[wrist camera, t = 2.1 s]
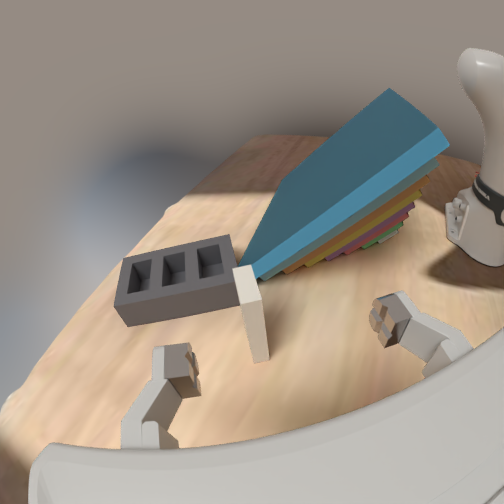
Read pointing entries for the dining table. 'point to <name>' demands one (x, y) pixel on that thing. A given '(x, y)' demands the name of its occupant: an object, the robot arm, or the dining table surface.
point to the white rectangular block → (252, 312)
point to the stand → (177, 282)
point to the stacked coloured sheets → (348, 189)
